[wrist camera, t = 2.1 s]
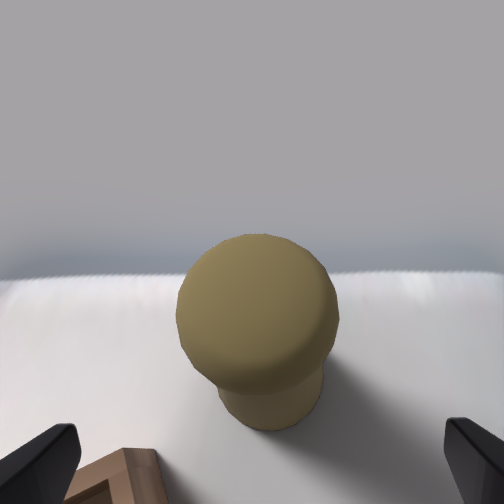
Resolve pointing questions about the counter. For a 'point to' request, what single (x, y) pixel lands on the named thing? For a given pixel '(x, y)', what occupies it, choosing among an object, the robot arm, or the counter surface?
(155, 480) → the socket box
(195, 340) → the olive knobbed peg
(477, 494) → the robot arm
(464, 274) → the counter surface
